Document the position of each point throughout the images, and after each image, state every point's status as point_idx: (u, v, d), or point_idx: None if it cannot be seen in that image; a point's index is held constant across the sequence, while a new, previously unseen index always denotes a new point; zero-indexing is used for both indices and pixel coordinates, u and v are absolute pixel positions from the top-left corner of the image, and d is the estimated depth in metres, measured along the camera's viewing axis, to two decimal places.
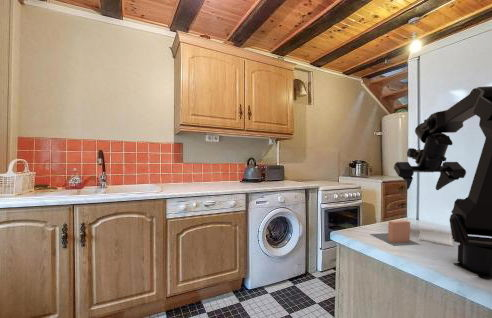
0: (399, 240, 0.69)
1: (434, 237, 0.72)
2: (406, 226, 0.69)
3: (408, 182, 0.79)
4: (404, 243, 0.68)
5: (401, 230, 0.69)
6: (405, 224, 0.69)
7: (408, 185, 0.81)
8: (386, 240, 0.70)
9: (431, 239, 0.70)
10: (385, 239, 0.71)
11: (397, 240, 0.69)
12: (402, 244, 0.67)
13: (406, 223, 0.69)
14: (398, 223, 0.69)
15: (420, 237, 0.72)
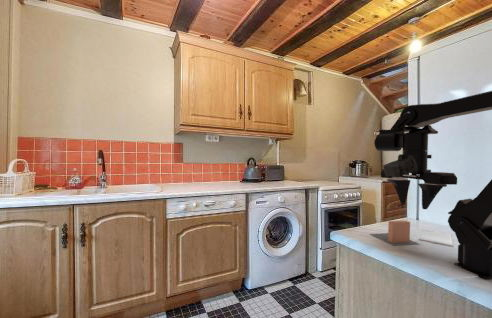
0: (399, 240, 0.69)
1: (434, 237, 0.72)
2: (406, 226, 0.69)
3: None
4: (404, 243, 0.68)
5: (401, 230, 0.69)
6: (405, 224, 0.69)
7: None
8: (386, 240, 0.70)
9: (431, 239, 0.70)
10: (385, 239, 0.71)
11: (397, 240, 0.69)
12: (402, 244, 0.67)
13: (406, 223, 0.69)
14: (398, 223, 0.69)
15: (420, 237, 0.72)
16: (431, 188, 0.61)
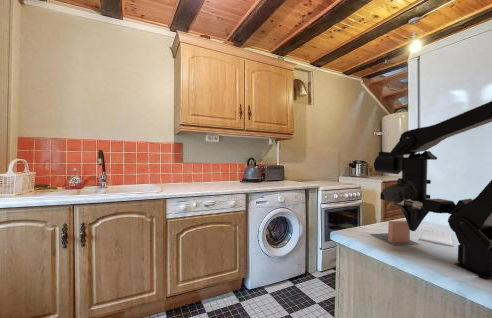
0: (399, 240, 0.69)
1: (434, 237, 0.72)
2: (406, 226, 0.69)
3: None
4: (404, 243, 0.68)
5: (401, 230, 0.69)
6: (405, 224, 0.69)
7: None
8: (386, 240, 0.70)
9: (431, 239, 0.70)
10: (385, 239, 0.71)
11: (397, 240, 0.69)
12: (402, 244, 0.67)
13: (406, 223, 0.69)
14: (398, 223, 0.69)
15: (420, 237, 0.72)
16: (419, 212, 0.64)
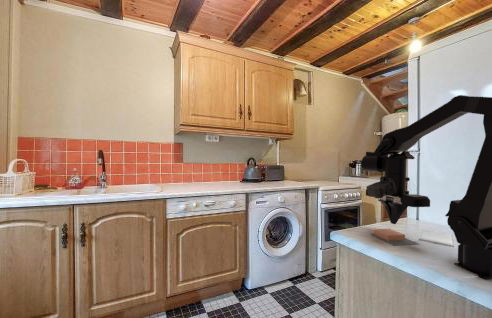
0: (393, 234, 0.71)
1: (434, 237, 0.72)
2: (389, 229, 0.75)
3: None
4: (404, 243, 0.68)
5: (387, 231, 0.74)
6: (387, 229, 0.76)
7: None
8: (386, 240, 0.70)
9: (431, 239, 0.70)
10: None
11: (391, 234, 0.71)
12: (402, 244, 0.67)
13: (387, 229, 0.76)
14: (379, 229, 0.76)
15: (420, 237, 0.72)
16: (399, 206, 0.70)
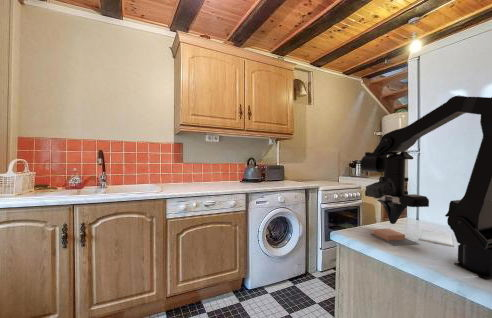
0: (393, 234, 0.71)
1: (434, 237, 0.72)
2: (389, 229, 0.75)
3: None
4: (404, 243, 0.68)
5: (387, 231, 0.74)
6: (387, 229, 0.76)
7: None
8: (386, 240, 0.70)
9: (431, 239, 0.70)
10: None
11: (391, 234, 0.71)
12: (402, 244, 0.67)
13: (387, 229, 0.76)
14: (379, 229, 0.76)
15: (420, 237, 0.72)
16: (398, 206, 0.71)
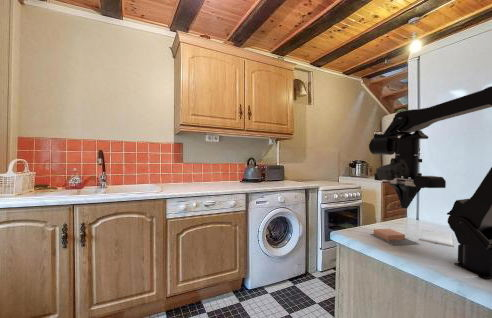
0: (393, 234, 0.71)
1: (434, 237, 0.72)
2: (389, 229, 0.75)
3: None
4: (404, 243, 0.68)
5: (387, 231, 0.74)
6: (387, 229, 0.76)
7: None
8: (386, 240, 0.70)
9: (431, 239, 0.70)
10: None
11: (391, 234, 0.71)
12: (402, 244, 0.67)
13: (387, 229, 0.76)
14: (379, 229, 0.76)
15: (420, 237, 0.72)
16: (411, 190, 0.66)
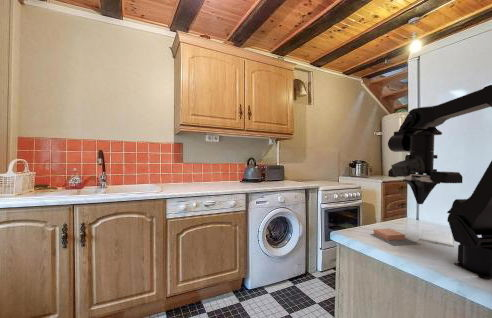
0: (393, 234, 0.71)
1: (434, 237, 0.72)
2: (389, 229, 0.75)
3: None
4: (404, 243, 0.68)
5: (387, 231, 0.74)
6: (387, 229, 0.76)
7: None
8: (386, 240, 0.70)
9: (431, 239, 0.70)
10: None
11: (391, 234, 0.71)
12: (402, 244, 0.67)
13: (387, 229, 0.76)
14: (379, 229, 0.76)
15: (420, 237, 0.72)
16: (426, 185, 0.67)
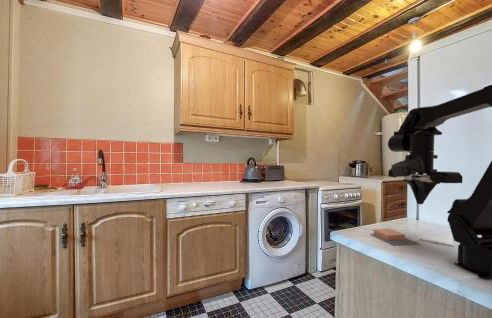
0: (393, 234, 0.71)
1: (434, 237, 0.72)
2: (389, 229, 0.75)
3: None
4: (404, 243, 0.68)
5: (387, 231, 0.74)
6: (387, 229, 0.76)
7: None
8: (386, 240, 0.70)
9: (431, 239, 0.70)
10: None
11: (391, 234, 0.71)
12: (402, 244, 0.67)
13: (387, 229, 0.76)
14: (379, 229, 0.76)
15: (420, 237, 0.72)
16: (426, 185, 0.67)
